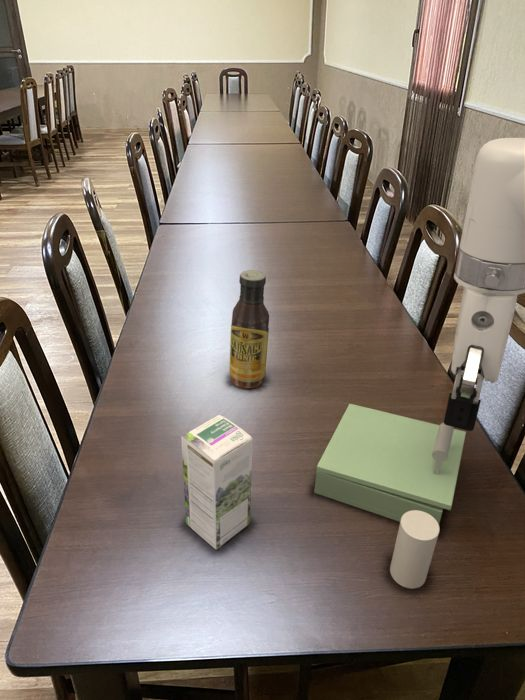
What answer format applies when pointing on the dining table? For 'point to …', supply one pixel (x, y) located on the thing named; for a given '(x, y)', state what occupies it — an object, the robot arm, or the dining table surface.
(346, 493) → the green open lid box
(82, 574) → the dining table surface
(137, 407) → the dining table surface
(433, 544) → the cylinder
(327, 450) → the green box lid
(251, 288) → the sauce bottle
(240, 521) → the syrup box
